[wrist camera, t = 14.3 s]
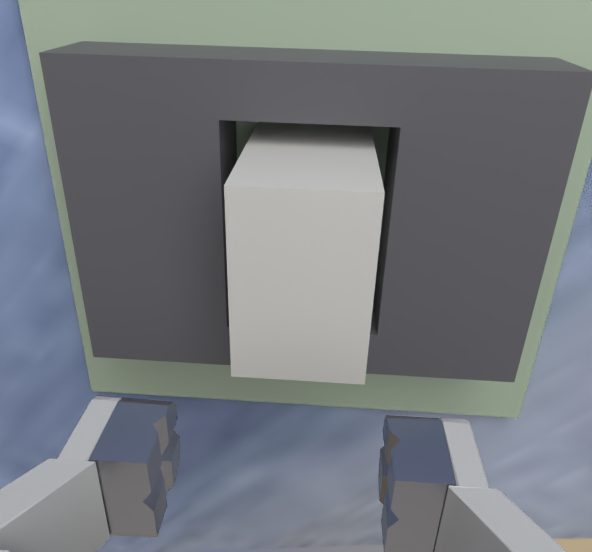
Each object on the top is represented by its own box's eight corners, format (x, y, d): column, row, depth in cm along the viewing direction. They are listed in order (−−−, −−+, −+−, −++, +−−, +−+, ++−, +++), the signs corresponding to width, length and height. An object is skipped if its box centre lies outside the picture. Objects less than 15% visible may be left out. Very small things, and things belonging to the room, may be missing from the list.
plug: (370, 125, 20) (384, 192, 14) (357, 274, 23) (364, 384, 17) (258, 120, 20) (224, 185, 14) (259, 268, 23) (231, 376, 17)
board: (651, -102, 17) (732, -122, 14) (513, 406, 27) (540, 472, 23) (8, -116, 18) (-71, -138, 14) (97, 380, 27) (62, 440, 24)
